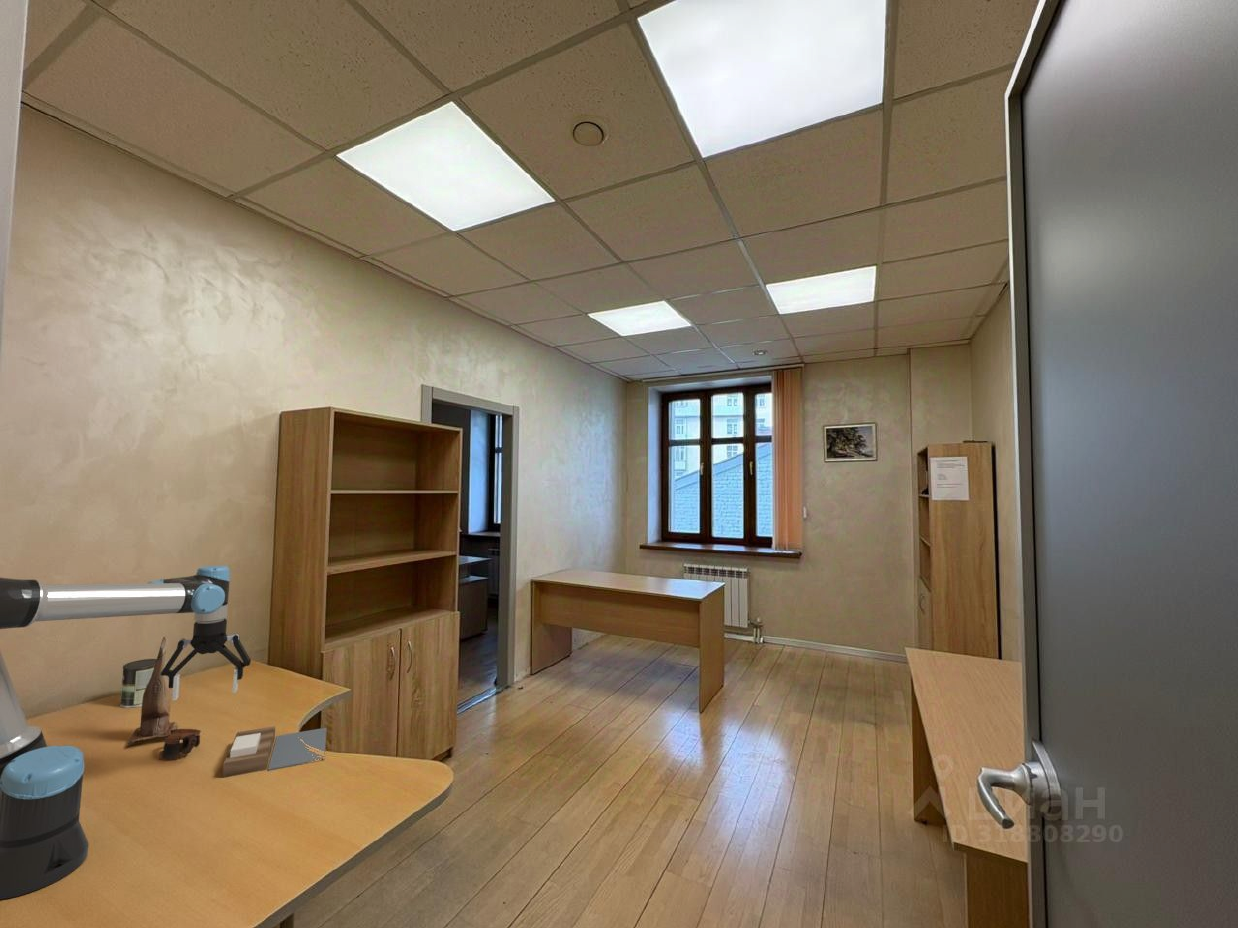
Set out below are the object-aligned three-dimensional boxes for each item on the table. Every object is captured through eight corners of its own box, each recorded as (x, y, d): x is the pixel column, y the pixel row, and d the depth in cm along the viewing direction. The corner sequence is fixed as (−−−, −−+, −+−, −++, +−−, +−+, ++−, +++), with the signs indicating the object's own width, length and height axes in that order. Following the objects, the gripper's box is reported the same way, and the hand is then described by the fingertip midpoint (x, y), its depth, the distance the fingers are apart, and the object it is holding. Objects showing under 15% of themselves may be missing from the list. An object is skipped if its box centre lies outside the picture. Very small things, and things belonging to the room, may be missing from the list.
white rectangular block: (255, 753, 148) (256, 746, 148) (230, 757, 145) (230, 750, 146) (260, 739, 156) (260, 732, 156) (236, 743, 153) (236, 736, 154)
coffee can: (114, 709, 182) (117, 669, 183) (127, 698, 191) (130, 660, 192) (151, 705, 186) (154, 666, 187) (162, 694, 196) (165, 657, 196)
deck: (266, 769, 147) (267, 755, 147) (222, 777, 143) (223, 762, 143) (274, 738, 165) (275, 725, 165) (236, 745, 160) (237, 731, 160)
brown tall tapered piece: (125, 751, 155) (134, 645, 156) (132, 735, 165) (140, 634, 166) (174, 742, 162) (182, 640, 163) (178, 726, 171) (185, 630, 172)
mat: (324, 759, 153) (324, 758, 153) (267, 770, 147) (267, 769, 147) (326, 728, 173) (326, 727, 173) (276, 736, 166) (277, 735, 166)
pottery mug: (148, 760, 151) (160, 729, 156) (181, 762, 158) (193, 732, 163) (174, 758, 147) (186, 726, 152) (207, 759, 154) (218, 729, 159)
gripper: (264, 613, 158) (260, 683, 157) (158, 621, 146) (152, 697, 145) (261, 618, 151) (256, 692, 150) (149, 627, 139) (144, 707, 138)
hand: (205, 694), depth 147 cm, fingers open, 13 cm apart
